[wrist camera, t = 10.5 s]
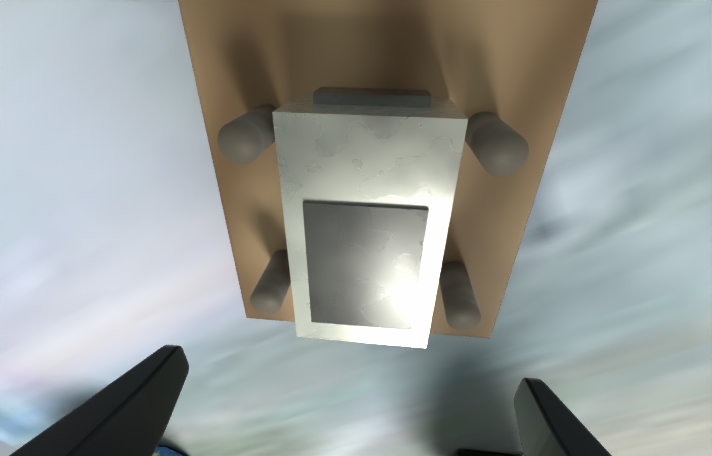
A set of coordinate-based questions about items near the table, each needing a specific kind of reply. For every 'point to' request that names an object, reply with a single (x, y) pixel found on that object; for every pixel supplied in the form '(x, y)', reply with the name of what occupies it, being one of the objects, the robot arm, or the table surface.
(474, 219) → the wooden peg board
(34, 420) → the table surface
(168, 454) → the snack cup
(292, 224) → the drive
